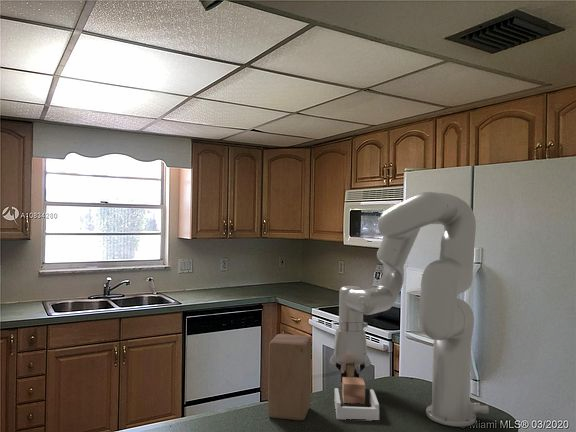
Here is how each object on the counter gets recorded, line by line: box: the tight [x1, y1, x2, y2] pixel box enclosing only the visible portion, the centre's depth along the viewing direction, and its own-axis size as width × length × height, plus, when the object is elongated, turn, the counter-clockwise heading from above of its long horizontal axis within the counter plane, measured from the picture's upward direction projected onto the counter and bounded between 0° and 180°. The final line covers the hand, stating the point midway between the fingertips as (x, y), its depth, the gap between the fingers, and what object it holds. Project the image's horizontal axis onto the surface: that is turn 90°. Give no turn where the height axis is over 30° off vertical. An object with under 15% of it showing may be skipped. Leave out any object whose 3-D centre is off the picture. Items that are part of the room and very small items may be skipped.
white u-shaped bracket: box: [333, 387, 380, 421], centre depth 129 cm, size 11×12×4 cm
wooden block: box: [267, 333, 312, 421], centre depth 127 cm, size 10×10×20 cm
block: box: [341, 363, 366, 405], centre depth 142 cm, size 6×15×7 cm, turn 178°
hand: (349, 384), depth 148 cm, fingers closed on block, 2 cm apart
